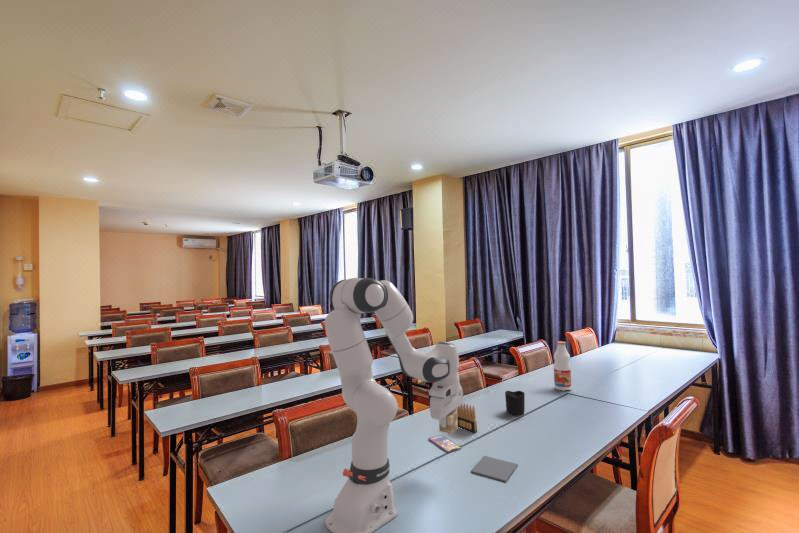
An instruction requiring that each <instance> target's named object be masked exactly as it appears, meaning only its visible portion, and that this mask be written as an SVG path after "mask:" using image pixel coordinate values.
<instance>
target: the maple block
mask: <svg viewBox="0 0 799 533" xmlns="http://www.w3.org/2000/svg"><path fill="white" fill-rule="evenodd" d="M445 419H446V421H447V427H445V428H444V427H442V426H441V421H440V420H438V426H439V428H438V430H439V431H438V432H441V433H447V434H450V435H453V434H454V433H455V432H457V430H458V429H459V428H458V419H457V411H456V412H451V413H449V414H448V415H446V418H445Z"/></svg>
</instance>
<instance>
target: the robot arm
mask: <svg viewBox="0 0 799 533" xmlns="http://www.w3.org/2000/svg"><path fill="white" fill-rule="evenodd" d="M329 309H330V312H329V313H327V315H326V316H325V319H324V328H325V332H326V337H327V341H328V345H329V348H330V350H331V353H332V356H333V359H334V362H335V364H336V367H337V371H338V373H339V377H340V384H341V395H342V398H343V401H344V403H345V404H346V406H347V408H349V409H350V410H351V411H352V412H354V413H355V414H356V419H357V421H356V422H357V423H356V429H355V431H354V433H353V435H352V437H351V455H352V460H351V463H350V467H349V469H348V468H344V469H343V471H342V476H344V477H346V478H347V480H345V481H346V482H345V483H344V485H343V486H342V488H341V489H340V491H339V492H338V495H337V496H336V498H335V499H334V502H333V509H332V512H331V513H330V514H329V515H328V516H327V517H326V519H325V521H324V525H325V527H326V528H327V529H328V531H329V532H331V533H373V532H376V530H378V529H380V528H381V527H383V526H384V525H385V524H387V523H388V522H390V521H391V520H394V518H396V517H398V510H397V508H396V507H395V500H394V499H395V498H394V493H393V492H394V491H393V485H392V483H391V479H390V475H389V474H390V466H391V464H390V458H389V456H388V433H389V428H390V424H391V423H392V422H393V420H394V419H395V417H396V415H397V413H398V405H399V404H398V401H397V399H396V397H395V396H394V394H393V393H392V392H391V391H390V390H389V389H388V388H386V387H385V386H383V385H381V384H379V383H378V382H377V381H376V380H375V377H374V375H373V368H372V366H373V361H374V358H373V356H372V352H371V350H370V346H369V343H368V341H367V338H366V336H365V332H364V329H363V328H362V324H361V322H362V321H361V316H362V314H371V313H374V314H375V316H376V318H377V319H378V321H379V322H380V324H381V325H382V327H383V329H384V331H385V334H386V336H387V337H388V340H389V342H390V344H391V346H392V348H393V349H394V351H395V353H396V356H397V357H398V362H399V367H400V369H401V372H402V373H403V374H404V376H406V377H409V378H413V379H417V380H420V381H423V382H425V383H431V384H432V383H433V384H432V385H431V387H430V388H429V390H428V395H429V396H431V397H430V399H429V410H430V411H429V412H430V416H431V419H434V420H437V421H439V420H440V421H441V426H442V427H444V428H445V427H447V421H446V419H445V418H446V415H448V414H449V413H451V412H456V413H457V408H458V407H459V406H461V405H463V404H464V391H463V390H464V389H463V387H462V386H461V382H460V375H459V368H460V360H459V351H458V348H457V345H455V344H454V343H452V342H445V341H439V342H436V344H435V346H434V347H433V348H432V349H431V350H430V351H428V352H422V351H419V350H417V349H416V348H415V347H413V346H412V344H411V342H410V340H409V338H408V336H407V334H406V332H407V331H408V330H409V329H410V328H411V326H412V325H413V321H414V314H413V311H412V310H411V307H410V305H409V304H408V301H406V299H405V297H404V296H403V295H402V294H401V292H400V290H399V289H398V288H397V287H396V286H395V284H393V283H392V282H391V281H389V280H385V279H382V280H377V279H374V278H371V277H364V278H362V277H361V278H360V277H352V278H347V279H342V280H341V279H340V280H339V281H337V282H335V283H334V285H332V287H331V288H330V291H329Z"/></svg>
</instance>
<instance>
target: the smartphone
mask: <svg viewBox="0 0 799 533" xmlns="http://www.w3.org/2000/svg"><path fill="white" fill-rule="evenodd" d="M429 440H430V442H431V443H432V444H434V445H435V446H436V445H437V447H438V448H439V449H441V450H442V451H443V452H444V453H448V454H450V453H454V452H456V451H460V450H462V446H461V445H459V444H457V443H456V442H454V441H452V440H450V439H449V438H448V437H446V436H445V435H442V434H438V435H435V436H431V437H429V438H428V441H429Z"/></svg>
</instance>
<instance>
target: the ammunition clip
mask: <svg viewBox="0 0 799 533" xmlns="http://www.w3.org/2000/svg"><path fill="white" fill-rule="evenodd" d="M475 409H476V408H475V406H474V405H473V406H472V405H471V404H470V405H469V404H468V403H465V402H463V404H462V405H461V406H459V407H458V408H457V411H456V413H457V419H458V427H460V428H459V429H461V428H462V429H461V430H463V429H465V430H464V431H466V430H467V431H466V432H469V431H470V432H469V433H471V432H472V433H471V434H474V433H475V434H476V432H477V433H478V427H477V420H476V410H475Z"/></svg>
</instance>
